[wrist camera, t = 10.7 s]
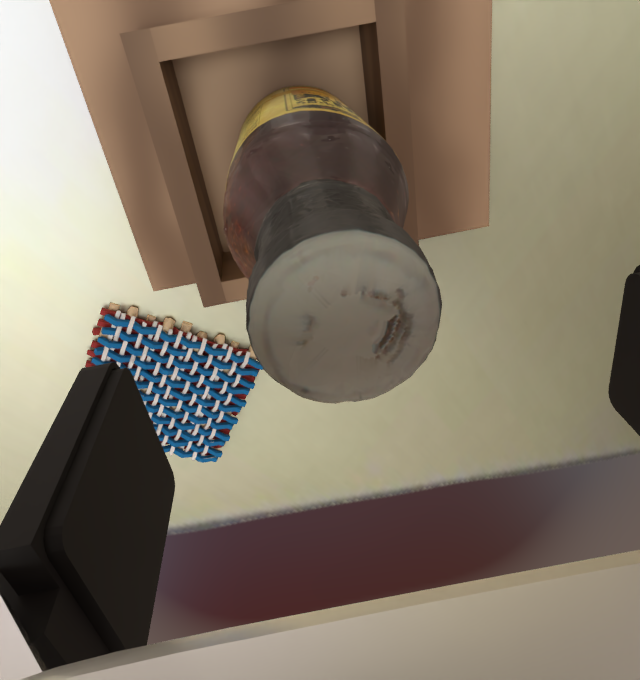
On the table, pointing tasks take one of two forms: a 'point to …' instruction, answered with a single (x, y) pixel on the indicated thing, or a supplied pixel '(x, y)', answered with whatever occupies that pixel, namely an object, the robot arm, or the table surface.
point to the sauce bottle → (327, 250)
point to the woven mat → (179, 378)
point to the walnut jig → (258, 82)
